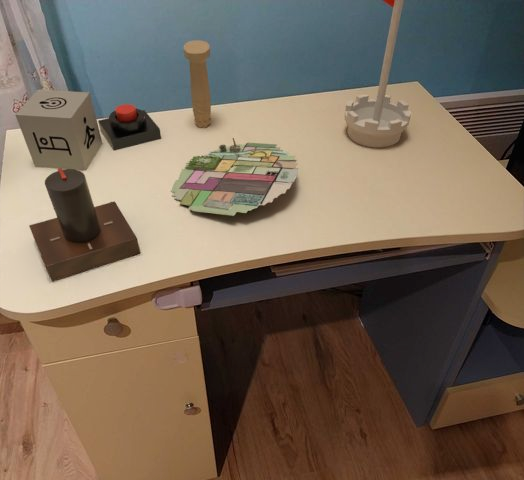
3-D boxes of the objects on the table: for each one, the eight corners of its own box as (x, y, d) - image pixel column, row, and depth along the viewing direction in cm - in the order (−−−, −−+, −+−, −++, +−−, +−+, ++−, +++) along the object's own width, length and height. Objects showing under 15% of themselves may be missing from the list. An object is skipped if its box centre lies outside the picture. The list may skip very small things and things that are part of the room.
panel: (52, 281, 75) (45, 265, 72) (35, 240, 81) (28, 224, 78) (140, 253, 79) (136, 237, 76) (118, 216, 85) (114, 200, 82)
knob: (105, 235, 77) (89, 182, 69) (69, 247, 75) (49, 193, 68) (94, 216, 80) (78, 163, 72) (59, 226, 78) (39, 173, 71)
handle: (191, 132, 103) (182, 53, 91) (192, 117, 107) (184, 40, 96) (214, 132, 103) (209, 53, 92) (214, 117, 107) (209, 40, 96)
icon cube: (35, 167, 94) (15, 114, 86) (54, 140, 101) (37, 89, 93) (86, 170, 94) (70, 118, 86) (102, 143, 100) (89, 92, 92)
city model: (180, 157, 101) (173, 129, 96) (295, 144, 99) (294, 114, 94) (167, 237, 85) (157, 207, 80) (303, 223, 83) (301, 192, 79)
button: (114, 115, 100) (112, 106, 99) (133, 111, 101) (131, 102, 100) (120, 124, 98) (118, 115, 96) (140, 119, 99) (138, 110, 98)
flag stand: (398, 118, 108) (437, -56, 84) (411, 149, 100) (459, -34, 76) (338, 119, 107) (361, -56, 84) (347, 150, 99) (375, -34, 76)
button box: (100, 130, 103) (95, 111, 100) (146, 120, 106) (142, 101, 103) (114, 150, 98) (109, 131, 95) (161, 139, 101) (158, 119, 98)
